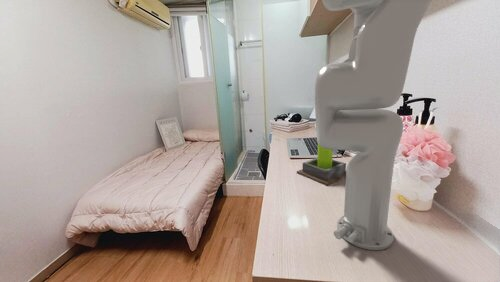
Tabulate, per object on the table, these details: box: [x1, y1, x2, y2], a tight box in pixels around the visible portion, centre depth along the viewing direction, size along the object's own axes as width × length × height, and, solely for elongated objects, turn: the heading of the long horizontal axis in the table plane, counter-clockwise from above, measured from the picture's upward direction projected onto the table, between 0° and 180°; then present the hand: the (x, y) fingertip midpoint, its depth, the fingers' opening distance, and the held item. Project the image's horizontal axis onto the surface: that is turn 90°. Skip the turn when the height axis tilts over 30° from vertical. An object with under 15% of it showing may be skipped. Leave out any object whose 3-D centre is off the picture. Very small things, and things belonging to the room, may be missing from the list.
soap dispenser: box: [317, 143, 334, 170], centre depth 86 cm, size 6×7×20 cm
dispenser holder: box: [296, 157, 347, 186], centre depth 88 cm, size 16×16×5 cm
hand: (362, 84), depth 76 cm, fingers open, 9 cm apart
